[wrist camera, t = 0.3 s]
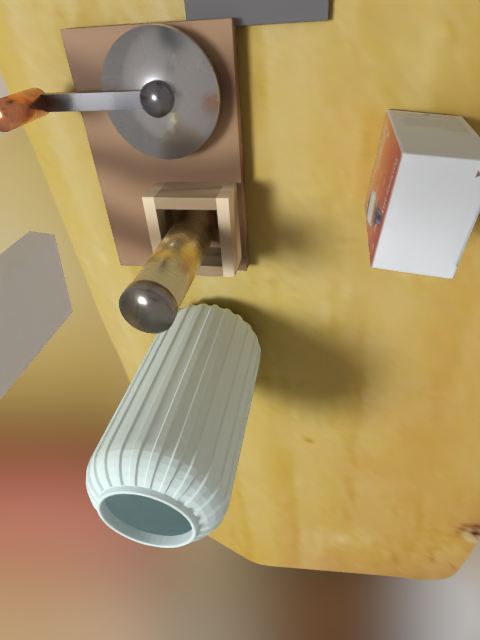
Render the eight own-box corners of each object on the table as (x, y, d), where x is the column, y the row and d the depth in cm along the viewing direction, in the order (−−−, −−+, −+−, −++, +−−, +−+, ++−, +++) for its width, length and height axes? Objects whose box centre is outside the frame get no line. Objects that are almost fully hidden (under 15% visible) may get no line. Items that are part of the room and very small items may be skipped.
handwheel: (14, 32, 32) (-43, 41, 28) (215, 19, 30) (191, 25, 25) (53, 155, 38) (11, 180, 33) (226, 154, 35) (207, 181, 30)
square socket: (156, 182, 38) (141, 197, 35) (236, 182, 37) (228, 198, 34) (169, 255, 42) (157, 273, 40) (241, 257, 41) (234, 276, 38)
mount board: (69, 28, 33) (59, 29, 32) (235, 17, 31) (231, 18, 30) (126, 258, 45) (120, 265, 44) (249, 262, 43) (246, 270, 42)
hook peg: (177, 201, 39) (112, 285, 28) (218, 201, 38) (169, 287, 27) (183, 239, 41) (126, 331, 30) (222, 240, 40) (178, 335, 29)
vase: (212, 383, 54) (152, 568, 37) (146, 322, 50) (43, 499, 33) (284, 346, 49) (253, 545, 31) (216, 273, 44) (136, 457, 27)
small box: (386, 107, 33) (401, 148, 24) (463, 114, 32) (506, 159, 24) (362, 208, 38) (368, 270, 29) (429, 216, 37) (454, 281, 29)
